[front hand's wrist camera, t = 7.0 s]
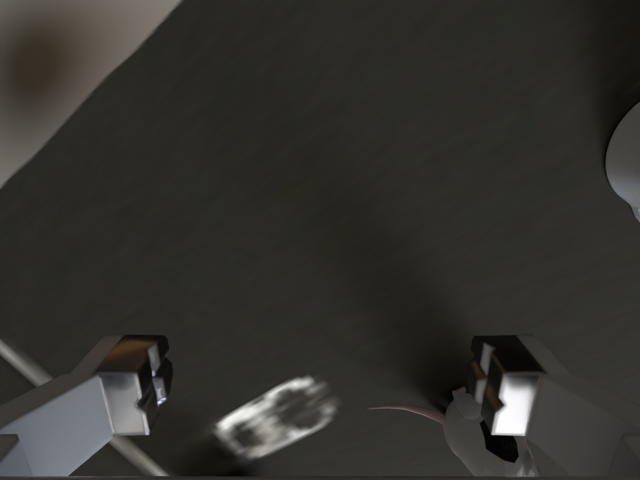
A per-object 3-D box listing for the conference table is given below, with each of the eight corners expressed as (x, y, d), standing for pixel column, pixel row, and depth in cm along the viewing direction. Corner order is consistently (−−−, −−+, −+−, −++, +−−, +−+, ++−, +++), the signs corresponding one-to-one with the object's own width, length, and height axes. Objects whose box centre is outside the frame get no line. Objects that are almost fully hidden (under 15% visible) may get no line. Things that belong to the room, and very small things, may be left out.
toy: (500, 433, 63) (552, 530, 49) (358, 412, 62) (370, 506, 48) (520, 390, 60) (582, 480, 46) (371, 367, 59) (388, 453, 45)
